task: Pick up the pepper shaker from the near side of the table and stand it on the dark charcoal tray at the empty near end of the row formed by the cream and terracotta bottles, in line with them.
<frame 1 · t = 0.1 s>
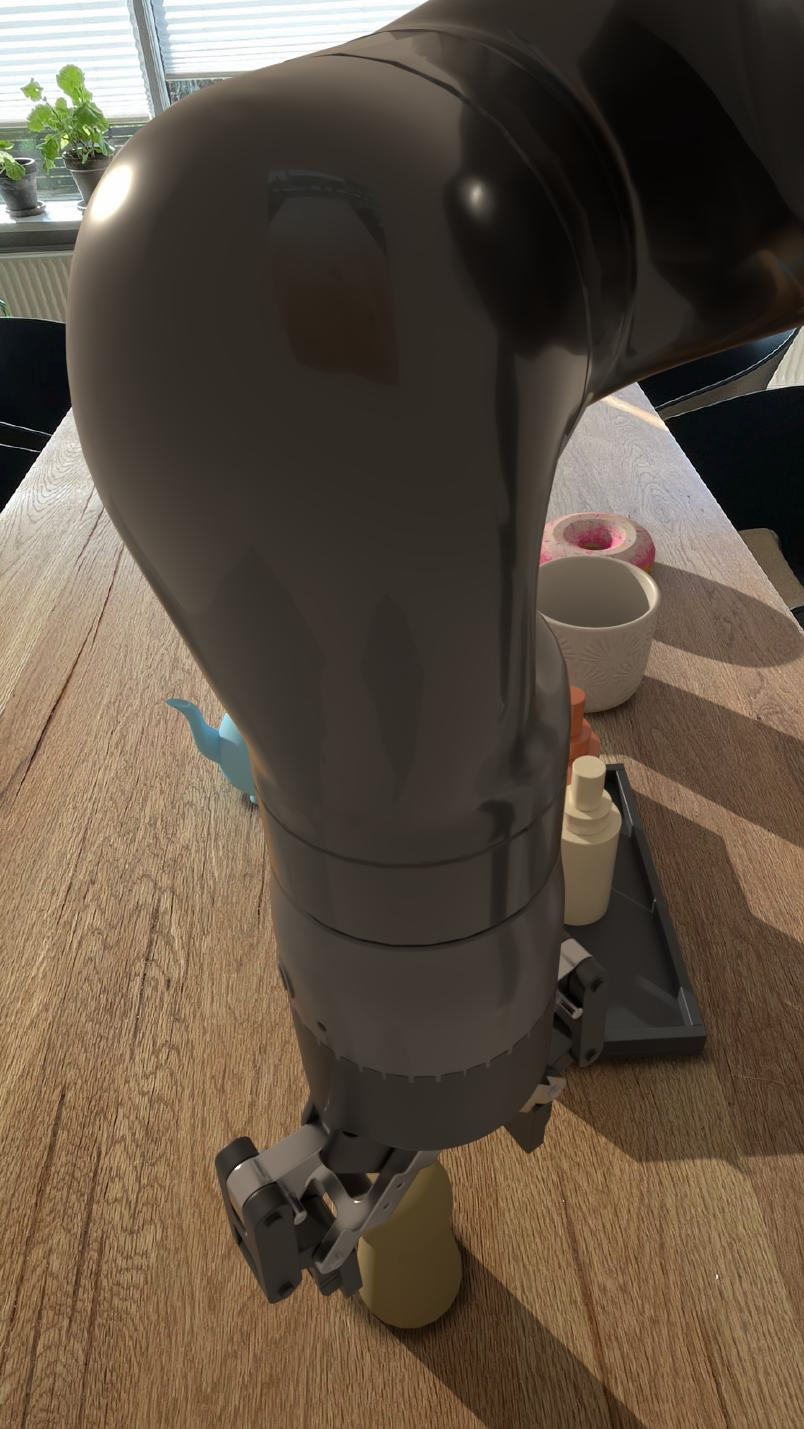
hand: (433, 1196, 36), 21 cm above the table, tool pointing down, fingers open, 8 cm apart
pepper shaker: (408, 1268, 54), on the table
tray: (573, 904, 72), on the table
teapot: (288, 776, 85), on the table
fruit: (425, 638, 100), on the table
terracotta bottle: (558, 825, 78), point 1 cm above the table, touching tray
cream bottle: (574, 898, 72), point 1 cm above the table, touching tray
donut: (590, 573, 108), on the table
planter: (580, 686, 93), on the table
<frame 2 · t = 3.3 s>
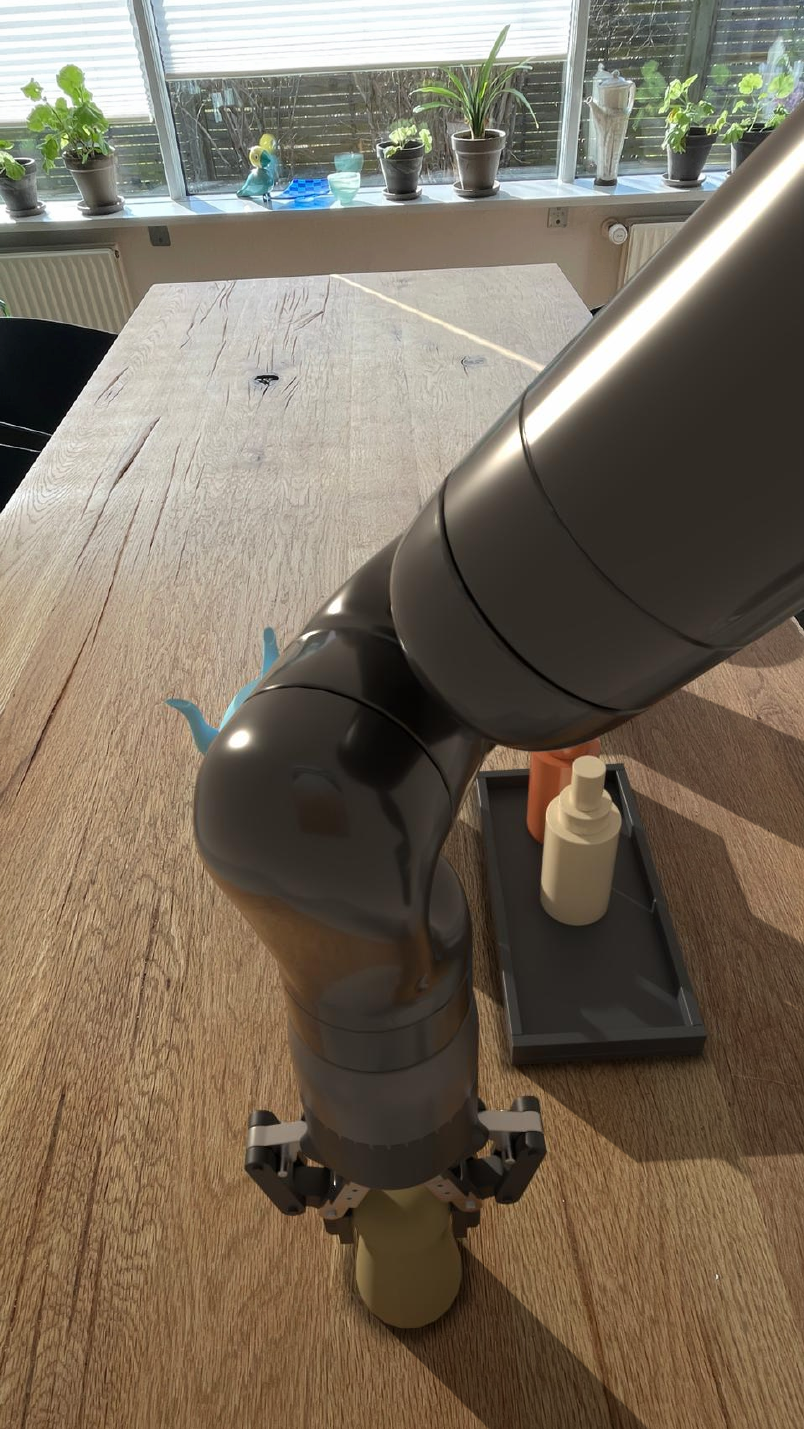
hand: (403, 1220, 49), 6 cm above the table, tool pointing down, fingers closed on pepper shaker, 5 cm apart
pepper shaker: (408, 1268, 54), on the table, touching gripper
everything else where it was.
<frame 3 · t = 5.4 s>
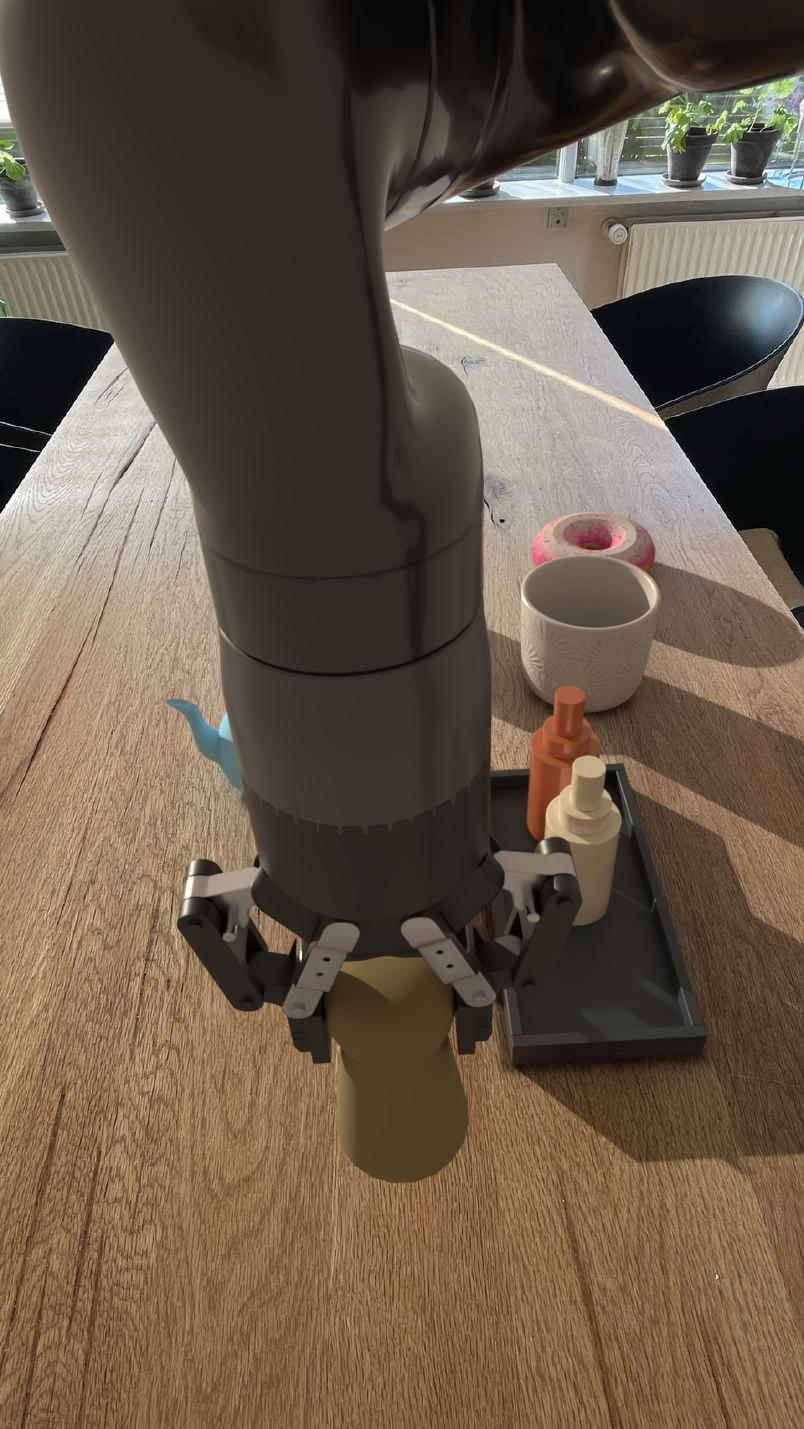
hand: (394, 1037, 39), 24 cm above the table, tool pointing down, fingers closed on pepper shaker, 5 cm apart
pepper shaker: (402, 1117, 43), point 17 cm above the table, touching gripper
everything else where it was.
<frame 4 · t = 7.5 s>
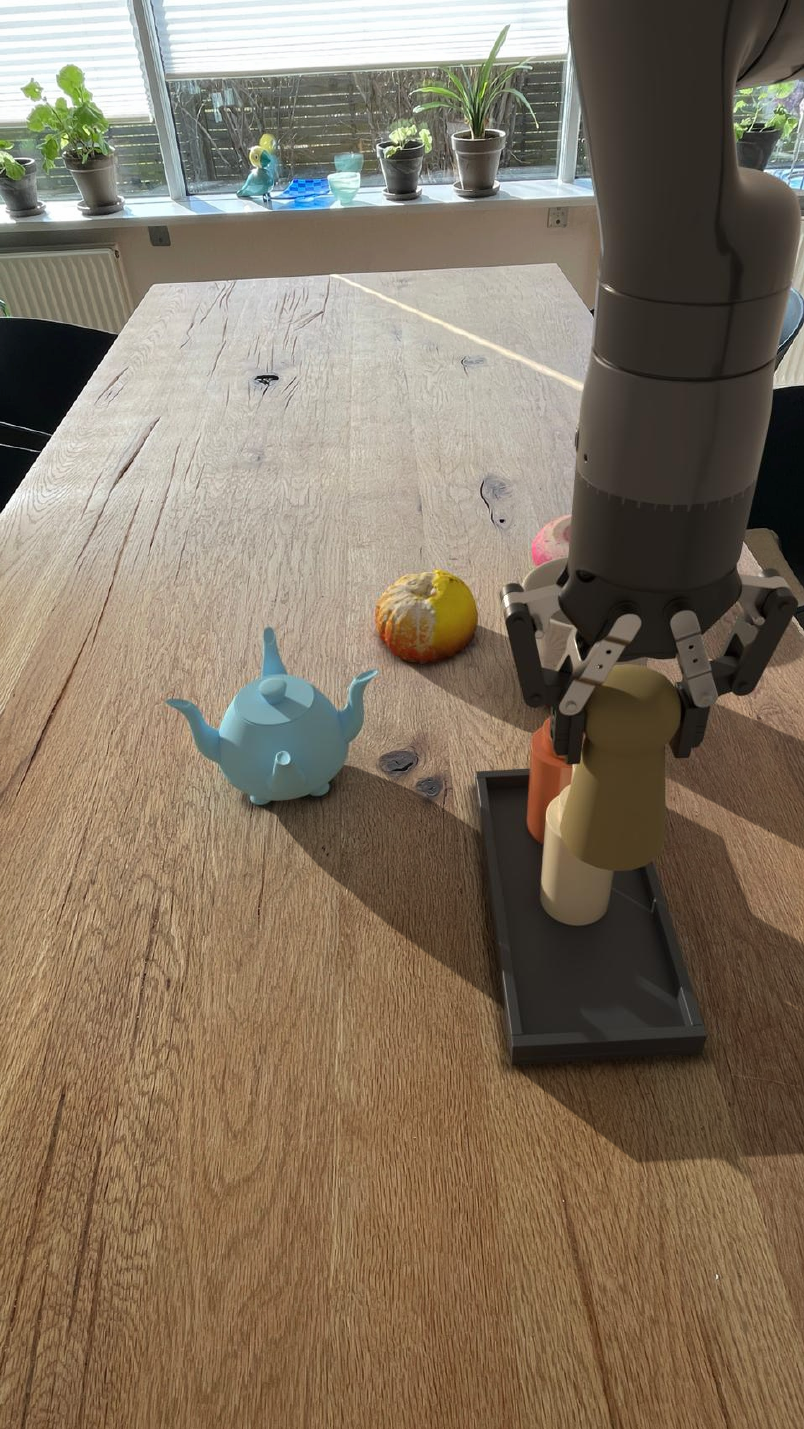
hand: (624, 749, 51), 24 cm above the table, tool pointing down, fingers closed on pepper shaker, 5 cm apart
pepper shaker: (611, 833, 55), point 17 cm above the table, touching gripper
everything else where it was.
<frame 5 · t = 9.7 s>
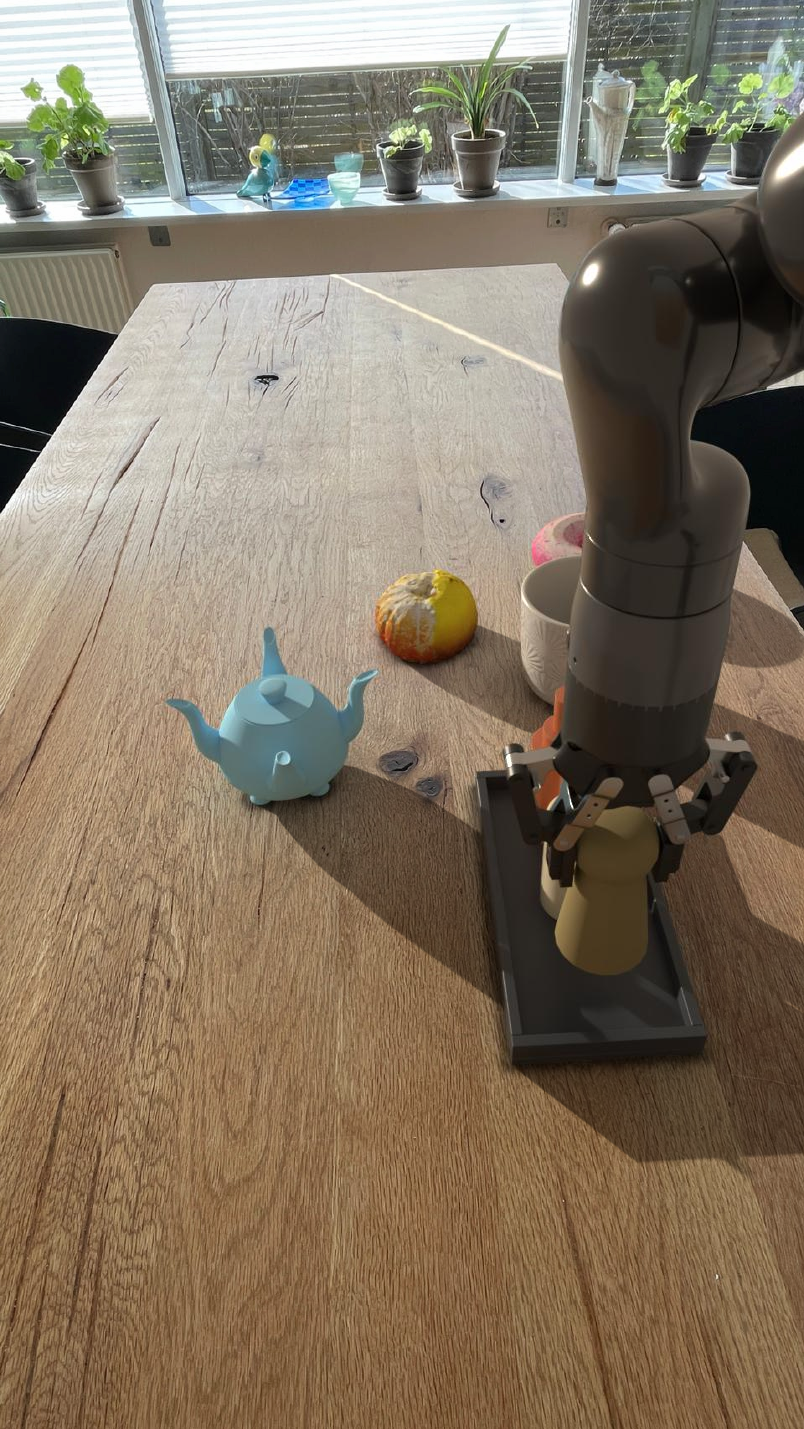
hand: (610, 873, 58), 13 cm above the table, tool pointing down, fingers closed on pepper shaker, 5 cm apart
pepper shaker: (600, 937, 63), point 6 cm above the table, touching gripper
everything else where it was.
when the fingers open (7 cm above the table, at t = 11.5 s): pepper shaker stays where it is, resting on tray.
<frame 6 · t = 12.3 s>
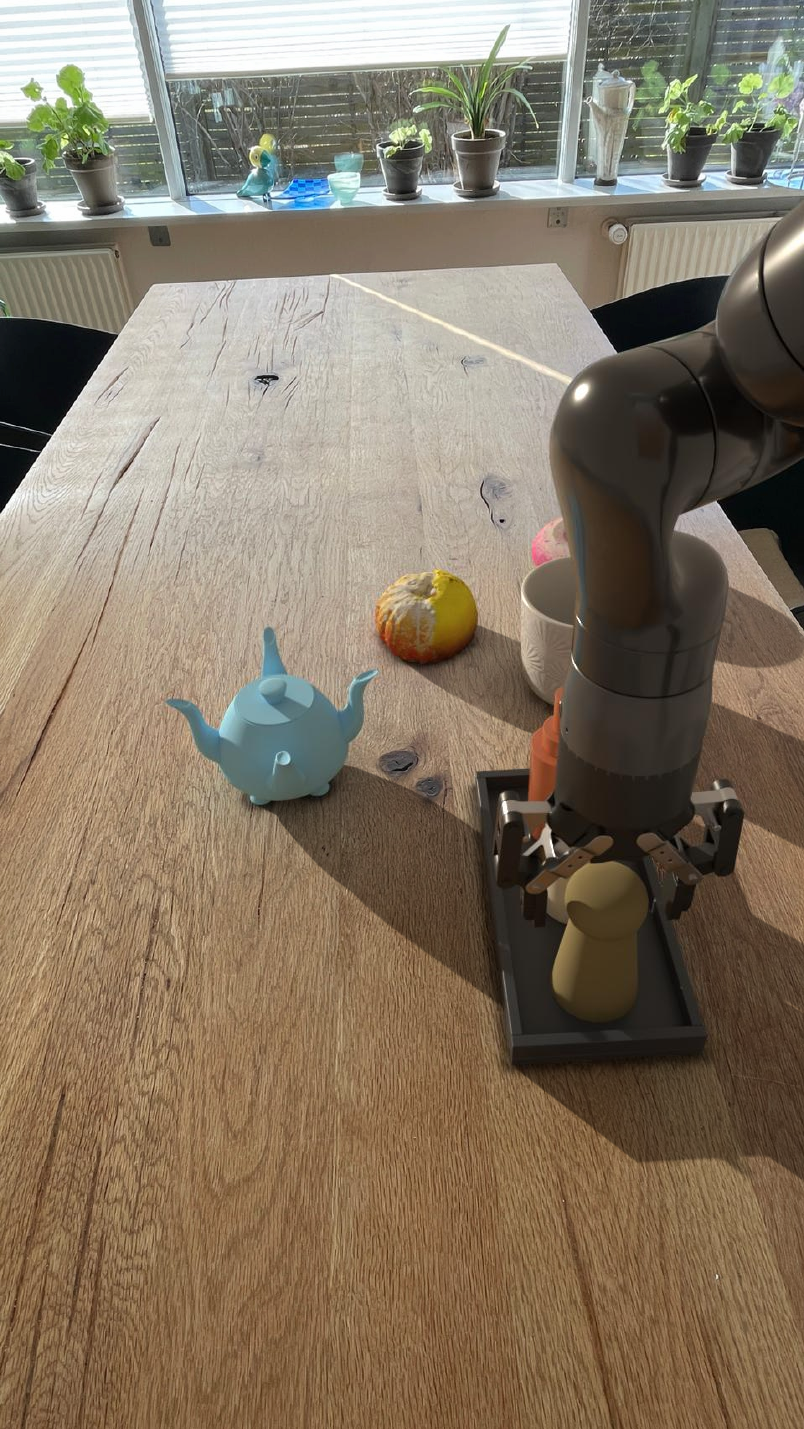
hand: (603, 912, 61), 9 cm above the table, tool pointing down, fingers open, 8 cm apart
pepper shaker: (593, 985, 66), point 1 cm above the table, touching tray
everything else where it was.
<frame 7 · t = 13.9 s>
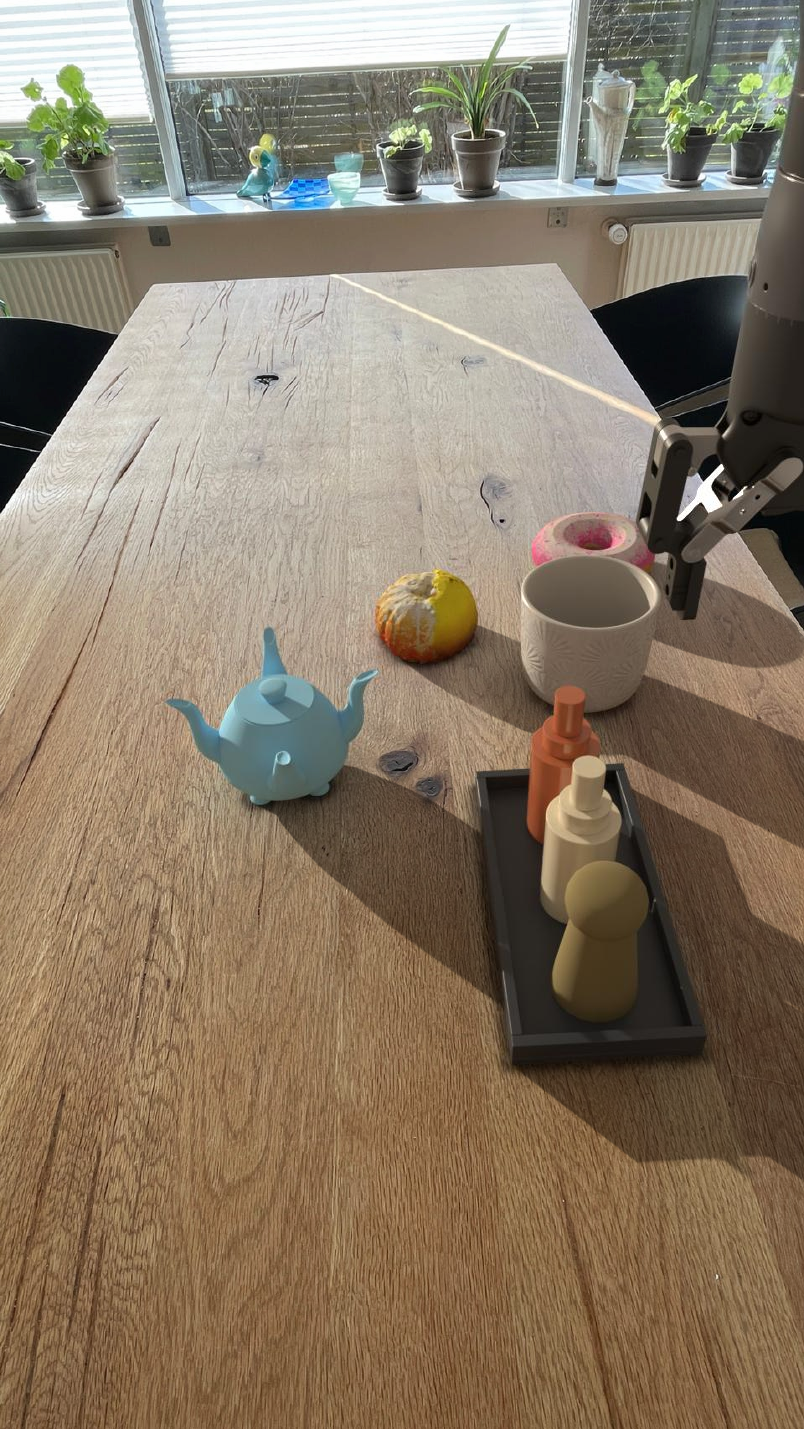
hand: (762, 606, 51), 29 cm above the table, tool pointing down, fingers open, 8 cm apart
nothing on the table moved.
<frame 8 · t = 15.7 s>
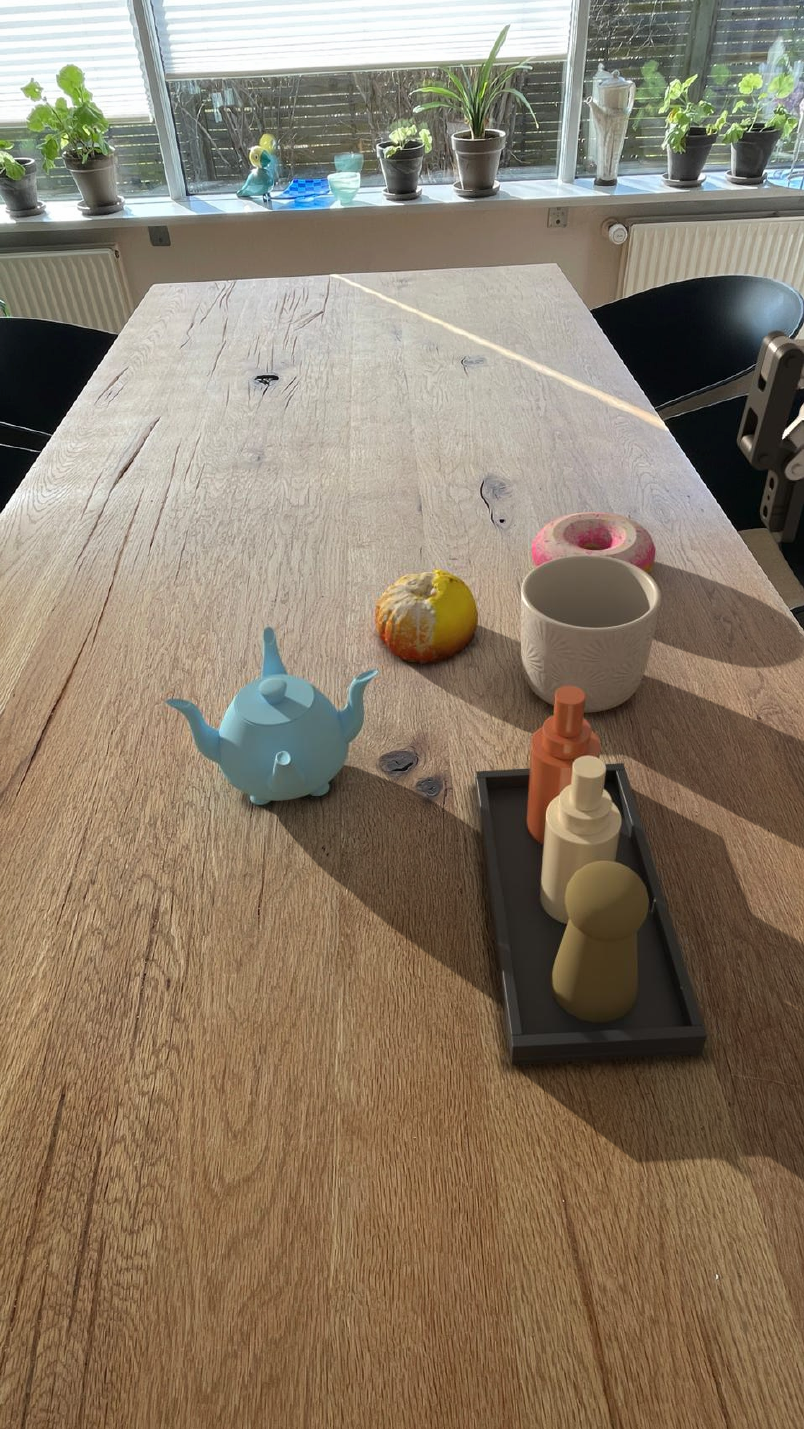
nothing on the table moved.
at the end: pepper shaker 0.1 cm from the target spot in the tray, point 0.6 cm above the tray's base; pepper shaker tilted 0°; the gripper is holding nothing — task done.
